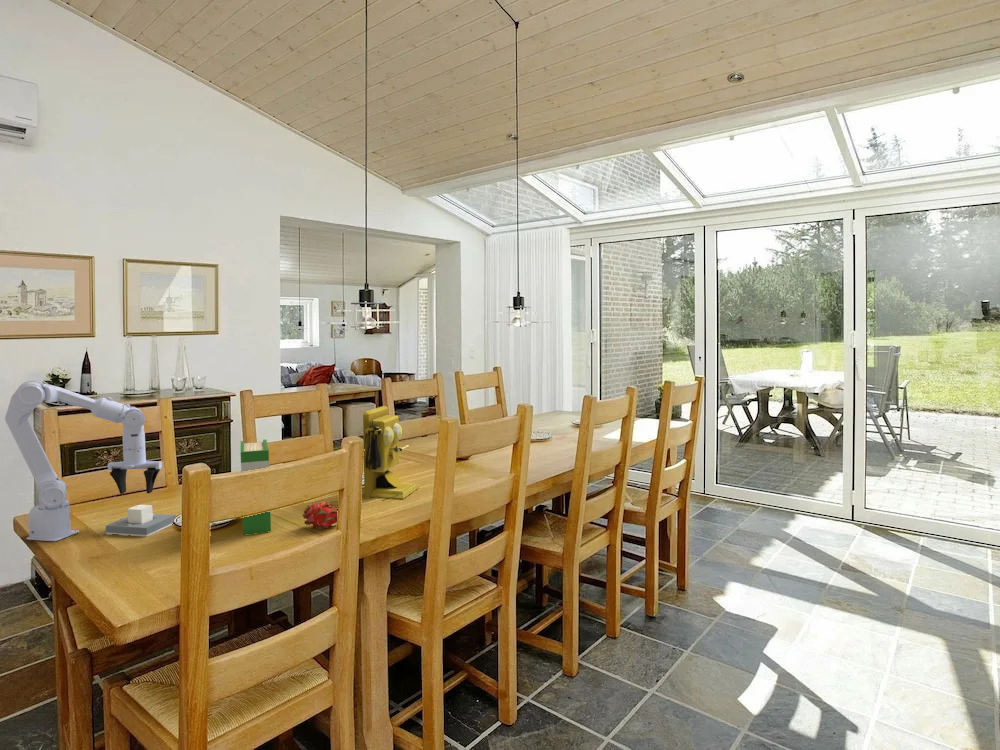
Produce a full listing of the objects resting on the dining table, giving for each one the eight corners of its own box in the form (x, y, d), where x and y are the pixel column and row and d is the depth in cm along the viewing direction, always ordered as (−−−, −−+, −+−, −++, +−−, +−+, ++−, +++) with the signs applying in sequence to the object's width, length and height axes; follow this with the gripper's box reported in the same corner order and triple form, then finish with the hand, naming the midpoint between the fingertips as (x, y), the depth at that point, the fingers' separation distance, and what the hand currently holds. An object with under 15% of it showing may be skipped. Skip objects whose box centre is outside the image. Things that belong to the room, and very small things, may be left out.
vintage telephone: (392, 507, 200) (391, 417, 198) (353, 504, 203) (352, 415, 201) (425, 483, 230) (425, 404, 228) (391, 481, 234) (390, 403, 231)
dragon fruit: (299, 533, 180) (341, 535, 183) (300, 524, 173) (344, 526, 176) (303, 505, 184) (344, 508, 187) (304, 495, 177) (346, 498, 181)
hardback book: (243, 517, 190) (240, 441, 188) (268, 514, 192) (266, 439, 190) (243, 535, 173) (240, 452, 171) (270, 532, 176) (268, 450, 174)
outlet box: (106, 534, 174) (105, 524, 174) (137, 520, 186) (136, 512, 186) (146, 536, 172) (146, 527, 172) (175, 523, 184) (175, 514, 184)
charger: (128, 529, 177) (127, 508, 176) (139, 524, 181) (138, 504, 180) (142, 530, 176) (141, 509, 175) (153, 525, 180) (152, 505, 180)
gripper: (101, 451, 177) (103, 496, 178) (153, 450, 178) (155, 495, 179) (114, 446, 184) (116, 490, 185) (164, 445, 185) (166, 489, 186)
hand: (136, 492), depth 183 cm, fingers open, 7 cm apart
